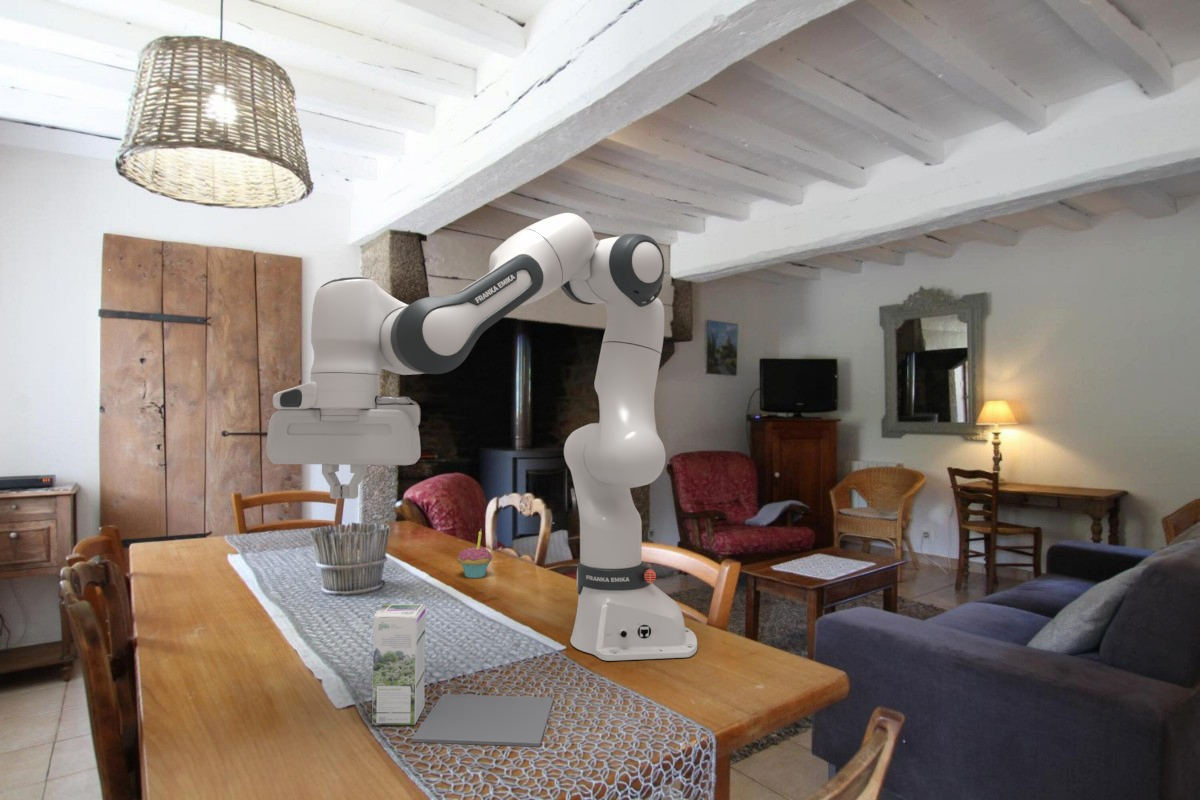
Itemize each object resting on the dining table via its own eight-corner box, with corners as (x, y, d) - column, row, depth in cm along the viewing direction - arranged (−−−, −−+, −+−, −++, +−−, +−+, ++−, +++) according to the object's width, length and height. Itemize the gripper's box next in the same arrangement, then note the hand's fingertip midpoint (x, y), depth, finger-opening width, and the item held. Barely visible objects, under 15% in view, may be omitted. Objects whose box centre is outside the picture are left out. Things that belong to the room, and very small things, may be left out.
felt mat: (553, 700, 93) (553, 697, 93) (539, 746, 80) (539, 743, 80) (442, 696, 94) (442, 694, 94) (411, 742, 81) (411, 738, 81)
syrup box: (425, 706, 91) (426, 601, 91) (414, 727, 85) (416, 614, 85) (383, 707, 91) (385, 601, 91) (370, 727, 85) (371, 614, 85)
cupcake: (498, 574, 166) (499, 527, 166) (475, 582, 158) (476, 532, 159) (473, 570, 170) (474, 523, 170) (449, 577, 163) (450, 528, 163)
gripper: (427, 397, 92) (426, 496, 92) (286, 396, 93) (284, 494, 93) (412, 395, 86) (411, 502, 85) (260, 395, 87) (259, 500, 86)
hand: (344, 498), depth 89 cm, fingers closed
